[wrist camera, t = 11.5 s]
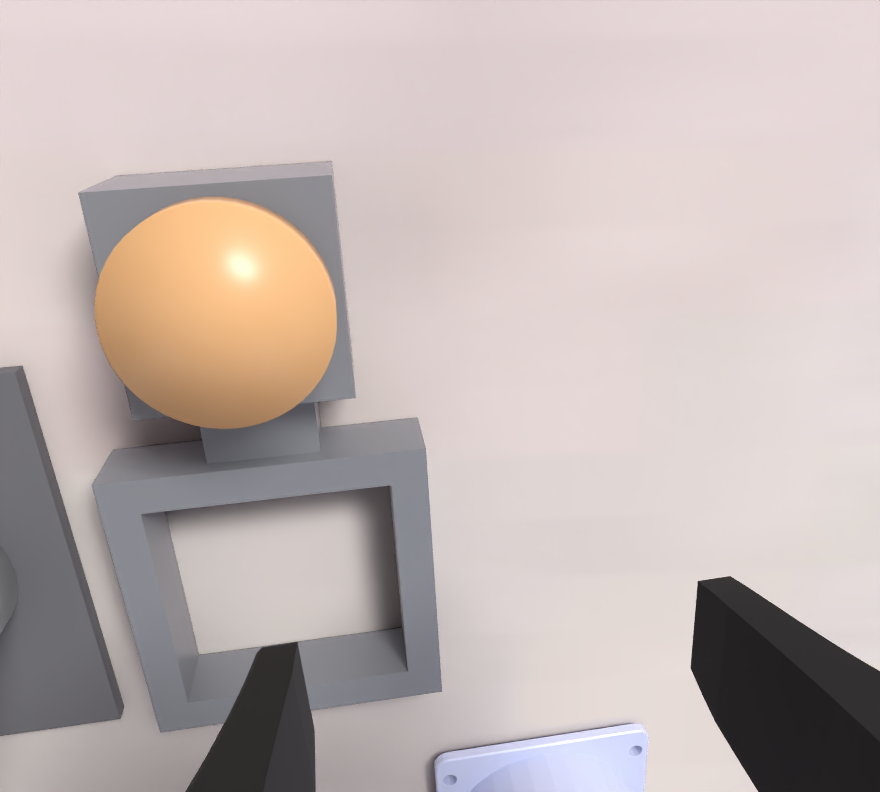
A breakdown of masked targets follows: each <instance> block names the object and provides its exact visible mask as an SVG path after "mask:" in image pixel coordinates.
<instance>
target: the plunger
mask: <svg viewBox="0 0 880 792" xmlns="http://www.w3.org/2000/svg"><path fill="white" fill-rule="evenodd" d="M94 305H95V322H96V328H97V333H98V337H99V340H100V343H101V346H102V349H103V351H104V353H105V355H106V357H107V359H108V362H109V363H110V365H111V366H112V368H113V370H114V371H115V373H116V374H117V376H118V377H119V378H120V379H121V380H122V382H123V383H124V384H125V385H126V386H127V387H128V388H129V389H130V390H131V391H132V392H133V393H134V394H135V395H136V396H137V397H138V398H139V399H141V400H142V401H144V402H145V403H146V404H148V405H149V406H150V407H152V408H154V409H155V410H157V411H159V412H161V413H162V414H164V415H166V416H169V417H171V418H173V419H176V420H178V421H181V422H184V423H188V424H191V425H195V426H200V427H206V428H217V429H232V428H242V427H248V426H254V425H257V424H260V423H264V422H267V421H269V420H272V419H274V418H276V417H279V416H281V415H282V414H284V413H286V412H287V411H289V410H291V409H292V408H294V407H295V406H296V405H297V404H299V403H300V402H301V401H303V400H304V399H305V398H306V397H307V396H308V395H309V394H310V393H311V392H312V390H313V389H314V388H315V387H316V385H317V384H318V383H319V381H320V380H321V378H322V376H323V375H324V373H325V371H326V369H327V367H328V365H329V362H330V360H331V357H332V354H333V350H334V346H335V342H336V332H337V313H336V297H335V292H334V286H333V283H332V280H331V277H330V274H329V271H328V269H327V267H326V265H325V263H324V261H323V259H322V257H321V256H320V254H319V253H318V251H317V250H316V248H315V247H314V245H313V244H312V243H311V242H310V241H309V239H308V238H307V237H306V236H305V235H304V234H303V233H302V232H301V231H300V230H299V229H298V228H297V227H296V226H294V225H293V224H292V223H290V222H289V221H288V220H286V219H285V218H283V217H282V216H281V215H279V214H277V213H275V212H273V211H271V210H270V209H268V208H265V207H263V206H260V205H258V204H255V203H253V202H249V201H245V200H241V199H237V198H229V197H200V198H193V199H188V200H184V201H181V202H177V203H174V204H172V205H169V206H167V207H165V208H163V209H161V210H159V211H157V212H156V213H154V214H153V215H151V216H149V217H148V218H146V219H145V220H144V221H142V222H141V223H140V224H138V225H137V226H136V227H135V228H134V229H132V230H131V231H130V232H129V233H128V234H126V235H125V236H124V237H123V238H122V240H121V241H120V242H119V243H118V244H117V245H116V246H115V248H114V249H113V251H112V252H111V254H110V255H109V257H108V259H107V260H106V262H105V265H104V267H103V269H102V271H101V274H100V277H99V281H98V284H97V288H96V295H95V304H94Z"/></svg>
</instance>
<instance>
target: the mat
mask: <svg viewBox="0 0 880 792" xmlns="http://www.w3.org/2000/svg"><path fill="white" fill-rule="evenodd" d="M0 547H1V548H2V549H3V550H4V552H5V553H6V554H7V556H8V558H9V559H10V561H11V563H12V565H13V567H14V570H15V572H16V576H17V580H18V600H17V603H16V607H15V609H14V612H13V614H12V616H11V618H10V619H9V621H8V623H7V624H6V626H5V628H4V629H3V631H2V633H1V634H0V736H3V735H10V734H17V733H24V732H31V731H38V730H45V729H52V728H59V727H66V726H73V725H80V724H87V723H94V722H101V721H108V720H115V719H120V718H121V715H122V711H123V708H124V705H123V702H122V698H121V695H120V692H119V688H118V685H117V682H116V678H115V675H114V671H113V668H112V665H111V661H110V658H109V655H108V651H107V648H106V645H105V641H104V638H103V635H102V631H101V628H100V625H99V621H98V618H97V614H96V611H95V608H94V604H93V601H92V598H91V594H90V591H89V588H88V584H87V581H86V578H85V574H84V571H83V567H82V564H81V561H80V557H79V554H78V551H77V547H76V544H75V541H74V537H73V534H72V531H71V527H70V524H69V521H68V517H67V514H66V510H65V507H64V504H63V500H62V497H61V494H60V490H59V487H58V484H57V480H56V477H55V474H54V470H53V467H52V464H51V460H50V457H49V453H48V450H47V447H46V443H45V440H44V437H43V433H42V430H41V427H40V423H39V420H38V417H37V413H36V410H35V406H34V403H33V400H32V396H31V393H30V390H29V386H28V383H27V380H26V376H25V373H24V370H23V366H15V367H4V368H0Z"/></svg>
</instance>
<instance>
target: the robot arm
mask: <svg viewBox="0 0 880 792" xmlns="http://www.w3.org/2000/svg"><path fill="white" fill-rule="evenodd" d="M691 670H692V672H693V674H694V677H695V679H696V681H697V683H698V686H699V688H700V690H701V692H702V695H703V697H704V699H705V701H706V703H707V705H708V707H709V710H710V712H711V714H712V716H713V718H714V720H715V722H716V724H717V725H718V727H719V729H720V730H721V732H722V734H723V735H724V737H725V739H726V740H727V742H728V743H729V745H730V747H731V748H732V750H733V752H734V753H735V755H736V756H737V758H738V760H739V761H740V763H741V765H742V766H743V768H744V769H745V771H746V773H747V774H748V776H749V777H750V779H751V781H752V782H753V784H754V785H755V787H756V789H757V790H758V792H880V671H878V670H877V669H875V668H873V667H871V666H870V665H868V664H866V663H865V662H863V661H861V660H860V659H858V658H856V657H855V656H853V655H851V654H850V653H848V652H846V651H845V650H843V649H842V648H840V647H838V646H837V645H835V644H834V643H832V642H830V641H829V640H827V639H826V638H824V637H822V636H821V635H819V634H818V633H816V632H815V631H813V630H812V629H810V628H809V627H807V626H805V625H804V624H802V623H801V622H799V621H798V620H796V619H795V618H793V617H792V616H790V615H789V614H787V613H786V612H784V611H783V610H781V609H780V608H778V607H777V606H775V605H774V604H772V603H771V602H769V601H768V600H766V599H765V598H763V597H762V596H760V595H759V594H757V593H756V592H754V591H753V590H751V589H750V588H748V587H746V586H745V585H743V584H742V583H740V582H739V581H737V580H735V579H734V578H732V577H730V576H729V577H722V578H715V579H709V580H702V581H698V587H697V599H696V611H695V623H694V635H693V646H692V658H691ZM648 741H649V737H648V733H647V731H646V729H645V727H644V726H643V725H641V724H627V725H620V726H614V727H607V728H601V729H594V730H588V731H581V732H575V733H568V734H562V735H555V736H549V737H542V738H536V739H529V740H523V741H517V742H510V743H504V744H497V745H491V746H484V747H478V748H471V749H465V750H458V751H452V752H446V753H443V754H441V755H440V756H438V757H437V759H436V760H435V764H434V766H435V779H436V792H644V788H645V776H646V764H647V752H648ZM448 775H450V776H448ZM315 790H316V788H315V735H314V725H313V720H312V715H311V710H310V704H309V699H308V694H307V689H306V683H305V678H304V673H303V668H302V663H301V657H300V652H299V647H298V642H294V643H287V644H281V645H274V646H267V647H262V648H261V649H260V650H259V651H258V652H257V653H256V655H255V658H254V660H253V663H252V665H251V668H250V670H249V672H248V675H247V677H246V679H245V682H244V684H243V686H242V688H241V690H240V693H239V695H238V697H237V699H236V701H235V703H234V705H233V707H232V709H231V711H230V713H229V715H228V717H227V719H226V721H225V723H224V725H223V727H222V728H221V730H220V732H219V734H218V736H217V738H216V740H215V742H214V744H213V745H212V747H211V749H210V751H209V753H208V755H207V756H206V758H205V760H204V762H203V763H202V765H201V767H200V768H199V770H198V772H197V773H196V775H195V777H194V778H193V780H192V782H191V783H190V785H189V787H188V788H187V790H186V792H315Z"/></svg>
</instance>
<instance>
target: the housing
mask: <svg viewBox="0 0 880 792" xmlns="http://www.w3.org/2000/svg"><path fill="white" fill-rule="evenodd" d="M78 194H79V198H80V202H81V206H82V211H83V215H84V219H85V223H86V227H87V231H88V235H89V240H90V244H91V248H92V252H93V256H94V260H95V264H96V269H97V273H98V277H100V274H101V271H102V269H103V267H104V265H105V262H106V260H107V259H108V257H109V255H110V254H111V252H112V251H113V249H114V248H115V246H116V245H117V244H118V243H119V242H120V241H121V240H122V238H123V237H124V236H125V235H126V234H128V233H129V232H130V231H131V230H132V229H134V228H135V227H136V226H137V225H138V224H140V223H141V222H142V221H144V220H145V219H146V218H148V217H149V216H151V215H153V214H154V213H156V212H157V211H159V210H161V209H163V208H165V207H167V206H169V205H172V204H174V203H177V202H181V201H184V200H188V199H193V198H200V197H229V198H237V199H241V200H245V201H249V202H253V203H255V204H258V205H260V206H263V207H265V208H268V209H270V210H271V211H273V212H275V213H277V214H279V215H281V216H282V217H283V218H285V219H286V220H288V221H289V222H290V223H292V224H293V225H294V226H296V227H297V228H298V229H299V230H300V231H301V232H302V233H303V234H304V235H305V236H306V237H307V238H308V239H309V241H310V242H311V243H312V244H313V245H314V247H315V248H316V250H317V251H318V253H319V254H320V256H321V257H322V259H323V261H324V263H325V265H326V267H327V269H328V271H329V274H330V277H331V280H332V283H333V286H334V292H335V297H336V313H337V332H336V342H335V346H334V350H333V354H332V357H331V360H330V362H329V365H328V367H327V369H326V371H325V373H324V375H323V376H322V378H321V380H320V381H319V383H318V384H317V385H316V387H315V388H314V389H313V390H312V392H311V393H310V394H309V395H308V396H307V397H306V398H305V399H304V400H303V401H301V402H300V403H299V404H297V405H296V406H295V407H294V408H292V409H291V410H289V411H287V412H286V413H284V414H282V415H281V416H279V417H276V418H274V419H272V420H269V421H267V422H264V423H260V424H257V425H254V426H248V427H242V428H232V429H217V428H206V427H200V426H199V427H200V432H201V437H202V440H200V441H191V442H182V443H172V444H163V445H153V446H144V447H134V448H125V449H115V450H112V452H111V454H110V455H109V457H108V459H107V461H106V462H105V464H104V466H103V467H102V469H101V471H100V472H99V474H98V476H97V478H96V479H95V481H94V483H93V484H92V488H93V491H94V495H95V499H96V502H97V506H98V509H99V513H100V517H101V520H102V524H103V527H104V531H105V535H106V538H107V542H108V546H109V549H110V553H111V556H112V560H113V564H114V567H115V571H116V574H117V578H118V582H119V585H120V589H121V592H122V596H123V600H124V603H125V607H126V611H127V614H128V618H129V621H130V625H131V629H132V632H133V636H134V639H135V643H136V647H137V650H138V654H139V657H140V661H141V665H142V668H143V672H144V675H145V679H146V683H147V686H148V690H149V694H150V697H151V701H152V704H153V708H154V712H155V715H156V719H157V722H158V726H159V730H160V732H167V731H174V730H181V729H188V728H195V727H201V726H208V725H215V724H222V723H225V721H226V719H227V717H228V715H229V713H230V711H231V709H232V707H233V705H234V703H235V701H236V699H237V697H238V695H239V693H240V690H241V688H242V686H243V684H244V682H245V679H246V677H247V675H248V672H249V670H250V668H251V665H252V663H253V660H254V658H255V655H256V653H257V652H258V651H259V650H260V649H261V648H262V647H256V648H248V649H241V650H233V651H226V652H219V653H211V654H204V655H199V654H198V649H197V645H196V641H195V637H194V632H193V628H192V624H191V620H190V615H189V611H188V607H187V603H186V598H185V594H184V590H183V586H182V581H181V577H180V573H179V569H178V564H177V560H176V556H175V552H174V547H173V543H172V539H171V535H170V530H169V526H168V522H167V518H166V513H165V511H172V510H181V509H190V508H198V507H207V506H216V505H225V504H233V503H242V502H251V501H259V500H268V499H277V498H285V497H294V496H303V495H312V494H320V493H329V492H338V491H346V490H355V489H364V488H372V487H381V486H389V487H390V498H391V509H392V520H393V531H394V542H395V553H396V564H397V575H398V586H399V597H400V608H401V619H402V628H396V629H388V630H381V631H374V632H366V633H359V634H351V635H344V636H337V637H329V638H322V639H315V640H307V641H300V642H298V647H299V652H300V657H301V663H302V668H303V673H304V678H305V683H306V689H307V694H308V699H309V704H310V710H318V709H325V708H332V707H339V706H346V705H352V704H359V703H366V702H373V701H380V700H387V699H394V698H401V697H407V696H414V695H421V694H428V693H435V692H442V684H441V669H440V654H439V639H438V624H437V609H436V594H435V579H434V564H433V549H432V534H431V520H430V505H429V490H428V475H427V460H426V448H425V444H424V440H423V436H422V432H421V429H420V425H419V421H418V418H409V419H399V420H390V421H380V422H371V423H361V424H352V425H343V426H333V427H324V428H321V422H320V414H319V407H318V402H321V401H331V400H341V399H351V398H356V395H355V383H354V371H353V359H352V349H351V340H350V330H349V321H348V311H347V302H346V292H345V283H344V274H343V264H342V255H341V245H340V236H339V226H338V217H337V207H336V198H335V189H334V179H333V170H332V161H327V162H312V163H297V164H282V165H268V166H253V167H238V168H223V169H209V170H194V171H179V172H164V173H149V174H135V175H120V176H115V177H113V178H110V179H108V180H106V181H104V182H101V183H99V184H97V185H94V186H92V187H90V188H88V189H85V190H83V191H81V192H79V193H78ZM124 385H125V384H124ZM125 389H126V393H127V397H128V401H129V405H130V409H131V414H132V418H133V421H135V420H144V419H154V418H164V417H169V416H166V415H164V414H162V413H161V412H159V411H157V410H155V409H154V408H152V407H150V406H149V405H148V404H146V403H145V402H144V401H142V400H141V399H139V398H138V397H137V396H136V395H135V394H134V393H133V392H132V391H131V390H130V389H129V388H128V387H127V386H126V385H125ZM292 643H294V642H292ZM285 644H287V643H285ZM278 645H281V644H278ZM270 646H274V645H270ZM263 647H267V646H263Z"/></svg>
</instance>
